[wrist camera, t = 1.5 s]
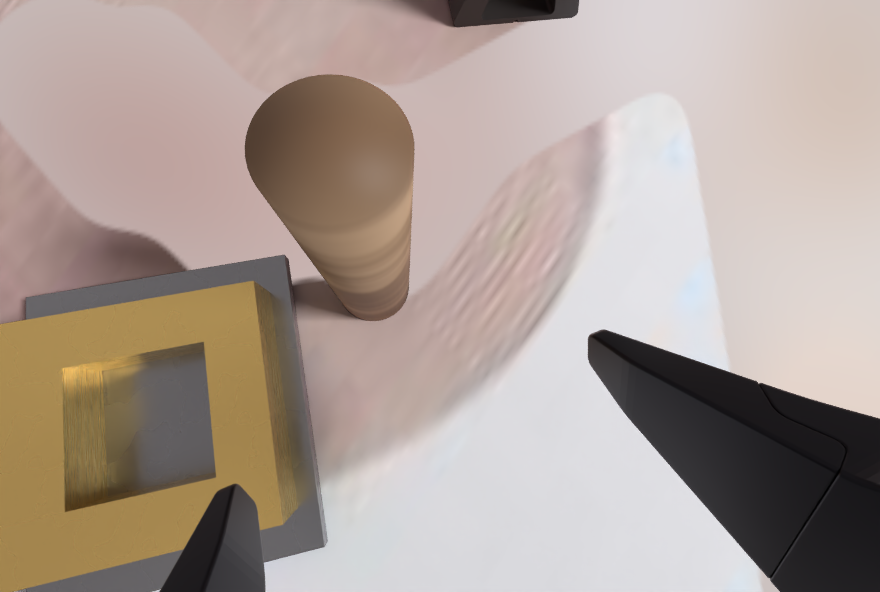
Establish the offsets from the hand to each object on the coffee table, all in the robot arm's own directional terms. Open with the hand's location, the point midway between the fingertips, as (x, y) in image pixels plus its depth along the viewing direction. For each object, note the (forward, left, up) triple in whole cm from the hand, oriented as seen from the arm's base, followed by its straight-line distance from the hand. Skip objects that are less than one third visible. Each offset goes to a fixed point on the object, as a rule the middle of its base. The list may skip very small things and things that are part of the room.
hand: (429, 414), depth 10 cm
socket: (+2, +12, -13) cm, 18 cm away
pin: (+7, +1, -13) cm, 14 cm away
